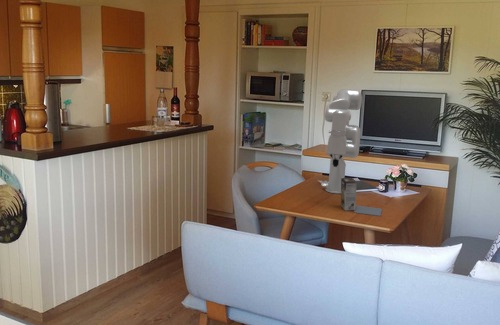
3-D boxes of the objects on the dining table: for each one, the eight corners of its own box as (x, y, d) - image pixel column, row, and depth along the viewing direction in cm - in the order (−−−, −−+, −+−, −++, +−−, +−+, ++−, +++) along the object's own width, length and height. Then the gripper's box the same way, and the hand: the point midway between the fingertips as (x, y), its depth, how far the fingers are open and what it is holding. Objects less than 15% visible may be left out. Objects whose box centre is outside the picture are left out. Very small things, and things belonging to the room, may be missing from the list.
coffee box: (340, 205, 292) (340, 178, 288) (351, 205, 292) (352, 177, 289) (344, 210, 283) (345, 182, 279) (356, 210, 283) (356, 181, 280)
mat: (353, 212, 280) (354, 212, 280) (356, 206, 293) (356, 205, 293) (380, 216, 276) (380, 215, 276) (382, 209, 289) (382, 208, 289)
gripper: (323, 133, 280) (320, 166, 284) (351, 135, 276) (348, 169, 279) (325, 131, 287) (322, 163, 291) (352, 134, 283) (349, 166, 286)
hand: (335, 166), depth 285 cm, fingers closed
